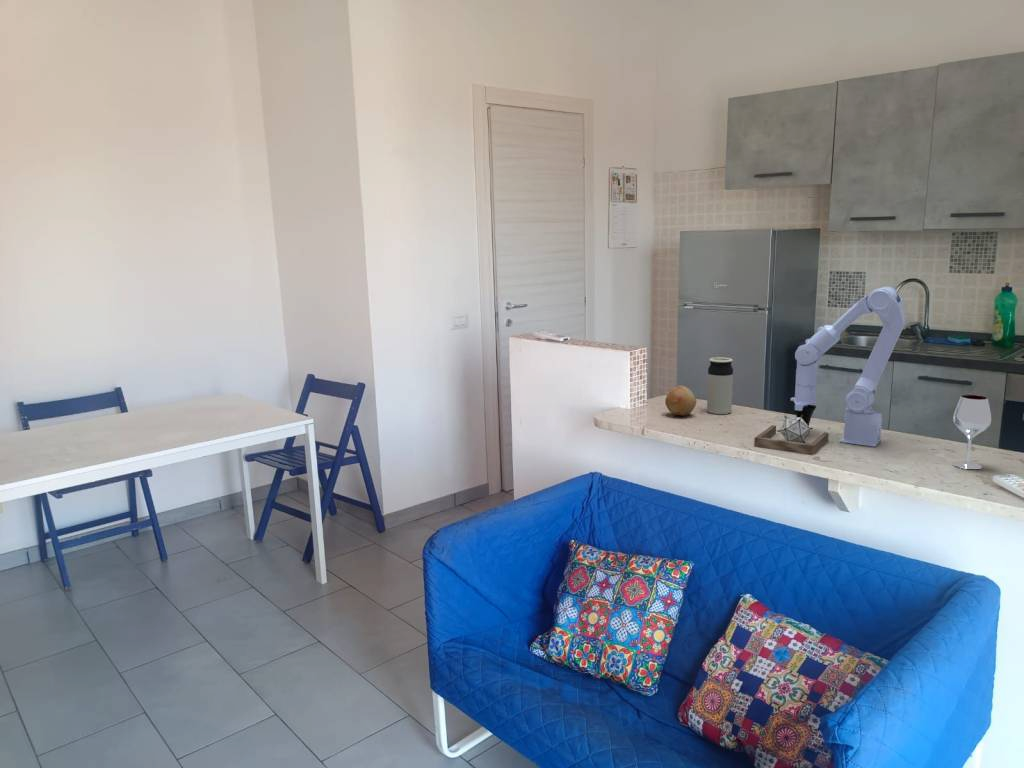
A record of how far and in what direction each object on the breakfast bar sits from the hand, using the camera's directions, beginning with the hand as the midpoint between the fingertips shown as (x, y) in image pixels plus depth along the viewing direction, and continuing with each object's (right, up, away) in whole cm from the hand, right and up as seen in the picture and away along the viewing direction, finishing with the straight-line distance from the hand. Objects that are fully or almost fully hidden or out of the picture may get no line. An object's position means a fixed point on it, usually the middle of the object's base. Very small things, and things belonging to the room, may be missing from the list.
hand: (803, 429), depth 225 cm
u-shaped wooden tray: (-7, -3, -9) cm, 12 cm away
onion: (-31, +3, +26) cm, 40 cm away
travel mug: (-17, +4, +29) cm, 34 cm away
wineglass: (+29, -8, -32) cm, 44 cm away
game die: (-6, -4, -9) cm, 11 cm away
